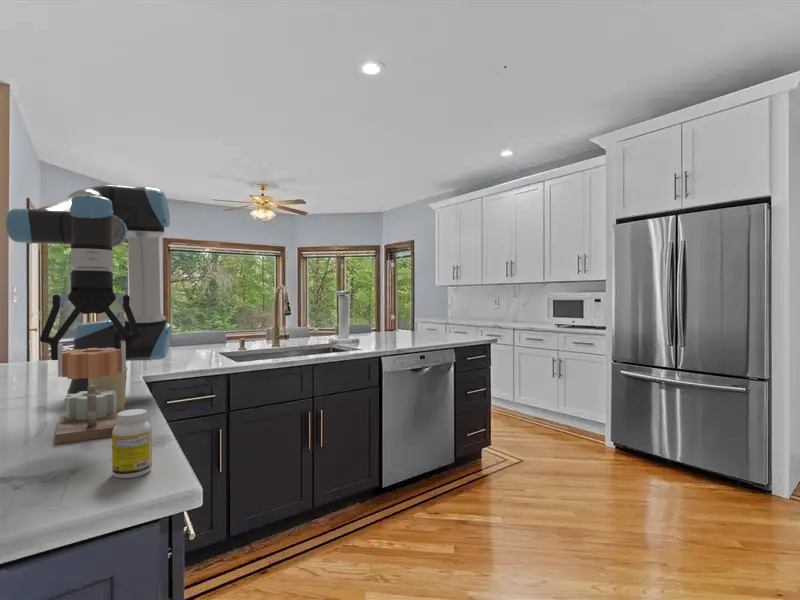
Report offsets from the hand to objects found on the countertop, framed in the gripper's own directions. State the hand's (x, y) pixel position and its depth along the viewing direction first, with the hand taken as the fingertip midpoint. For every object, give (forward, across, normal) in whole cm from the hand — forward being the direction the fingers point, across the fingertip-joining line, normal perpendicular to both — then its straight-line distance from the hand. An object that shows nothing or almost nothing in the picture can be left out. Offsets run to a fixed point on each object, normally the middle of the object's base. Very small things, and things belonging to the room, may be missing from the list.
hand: (92, 373), depth 102 cm
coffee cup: (+16, +4, +31) cm, 35 cm away
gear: (+13, 0, +19) cm, 24 cm away
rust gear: (0, 0, 0) cm, 0 cm away
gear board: (+15, 0, +13) cm, 20 cm away
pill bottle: (+15, +6, -23) cm, 28 cm away
